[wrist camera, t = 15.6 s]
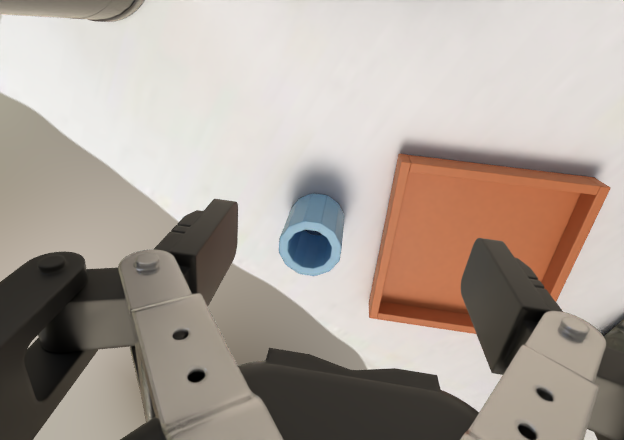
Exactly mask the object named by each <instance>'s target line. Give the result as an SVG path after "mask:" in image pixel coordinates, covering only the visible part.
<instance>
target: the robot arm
mask: <svg viewBox="0 0 624 440" xmlns="http://www.w3.org/2000/svg"><path fill="white" fill-rule="evenodd" d="M143 2H144V0H0V14H2V15H21V16H40V17H58V18H73V19H88V20H92V21H103V22H112V21H118V20H121V19H124V18H126V17H128V16H130V15H131V14H133V13H134V12H135V11H136V10H137V9H138V8H139V7H140V6H141V5H142V3H143ZM237 233H238V204H237V202H234V201H227V200H220V199H214V200H213V201H212V202H211V203H210V204H209V205H208V207H207V208H206V209H205V210H204V211H198V210H197V211H195V212H192V213H190V214H188V215H186V216H184V217H183V219H182V220H181V221H180V222H179V223H178V225H176V226H175V227H174V228H173V229H172V231H171V232H169V233H168V234H167V236H166V237H165V238H164V239H163V240H162V241H161V242H160V243H159V244H158V245H157V246H156V247H155V248H154V249H153V250H143V251H138V252H135V253H132V254H130V255H128V256H126V257H125V258H123V259H122V260H121V262H120V263H119V266H118V268H104V269H86V265H85V259H84V258H83V257H82V256H81V255H79V254H76V253H73V252H54V253H48V254H44V255H41V256H38V257H36V258H33V259H31V260H29V261H28V262H26V263H25V264H24V265H22V266H21V267H20V268H18V269H17V270H16V271H14V272H13V273H12V274H10V275H9V276H8V277H6V278H5V279H4V280H2V281H1V282H0V440H33V439H34V437H35V436H36V434H37V433H38V432H39V430H40V429H41V428H42V426H43V425H44V424H45V422H46V421H47V419H48V418H49V417H50V415H51V414H52V413H53V411H54V410H55V409H56V407H57V406H58V404H59V403H60V402H61V400H62V399H63V398H64V396H65V395H66V393H67V392H68V391H69V389H70V388H71V386H72V385H73V384H74V382H75V381H76V380H77V378H78V377H79V376H80V374H81V373H82V371H83V370H84V369H85V367H86V366H87V365H88V363H89V362H90V360H91V359H92V358H93V356H94V355H95V354H96V352H97V351H98V349H107V348H118V347H129V346H130V350H131V354H132V359H133V363H134V368H135V372H136V376H137V381H138V385H139V389H140V394H141V398H142V403H143V408H144V414H145V419H146V423H145V424H143V425H142V426H140V427H139V428H137V429H136V430H134V431H133V432H131V433H130V434H128V435H127V436H125V437H123V438H122V439H120V440H584V437H585V433H586V430H587V429H589V430H591V431H593V432H594V433H595V435H596V437H597V439H598V440H624V352H622V351H619V350H616V349H613V348H611V347H608V346H606V340H605V338H604V336H603V335H602V334H601V333H600V332H599V330H598V329H596V328H595V327H594V326H593V325H591V324H590V323H588V322H587V321H585V320H583V319H581V318H579V317H577V316H575V315H572V314H569V313H565V312H563V311H562V310H561V309H560V307H559V306H558V304H557V303H556V302H555V300H554V299H553V298H552V296H551V295H550V294H549V292H548V291H547V289H544V285H543V284H542V283H541V281H540V280H538V277H537V276H536V274H535V273H534V272H533V270H532V269H531V268H530V267H529V266H527V265H526V264H525V263H524V262H522V261H521V260H520V259H518V258H515V257H514V256H513V254H512V253H511V252H510V250H509V249H508V247H507V246H506V244H505V243H504V242H503V241H498V240H491V239H484V238H477V239H476V241H475V242H474V244H473V247H472V250H471V253H470V256H469V259H468V261H467V264H466V267H465V270H464V273H463V276H462V279H461V295H462V298H463V300H464V303H465V306H466V308H467V311H468V313H469V316H470V318H471V321H472V323H473V326H474V329H475V331H476V334H477V336H478V339H479V341H480V344H481V346H482V349H483V351H484V354H485V357H486V359H487V362H488V364H489V367H490V369H491V372H492V373H496V374H502V375H503V376H502V377H501V379H500V381H499V382H498V384H497V385H496V387H495V389H494V390H493V392H492V393H491V395H490V397H489V398H488V400H487V401H486V403H485V404H484V406H483V408H482V409H481V411H480V412H478V411H476V410H475V409H474V408H472V407H471V406H470V405H468V404H467V403H465V402H464V401H462V400H460V399H459V398H457V397H455V396H453V395H451V394H449V393H447V392H445V391H442V390H440V386H439V382H438V377H437V375H432V374H426V373H420V372H414V371H408V370H401V369H395V368H394V369H374V370H350V369H347V368H344V367H341V366H338V365H336V364H333V363H331V362H328V361H326V360H323V359H320V358H318V357H315V356H312V355H310V354H304V353H298V352H292V351H285V350H279V349H273V348H269V351H268V354H267V358H266V361H256V362H250V363H246V364H242V365H239V366H238V365H237V363H236V361H235V359H234V358H233V356H232V353H231V351H230V350H229V347H228V346H227V344H226V342H225V340H224V338H223V336H222V334H221V332H220V330H219V328H218V326H217V324H216V322H215V320H214V318H213V316H212V314H211V312H210V310H209V308H208V305H209V303H210V302H211V300H212V298H213V296H214V294H215V292H216V291H217V289H218V287H219V285H220V283H221V281H222V280H223V278H224V276H225V274H226V272H227V271H228V269H229V267H230V265H231V263H232V262H233V260H234V257H235V254H236V249H237ZM37 335H38V336H39V338H38V339H37V340H36V341H35V342H34V343H33V344H32V345H31V346H30V347H29V348H28V346H29V345H30V343H31V342H32V340H33V339H34V338H35V337H36V336H37ZM27 348H28V349H27Z"/></svg>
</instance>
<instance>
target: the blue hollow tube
mask: <svg viewBox="0 0 624 440" xmlns="http://www.w3.org/2000/svg"><path fill="white" fill-rule="evenodd" d="M343 226H344V214H343V212H342V209H341V207H340V205H339V204H338V203H337V202H336V201H335V200H333V199H332V198H330V197H329V196H328V195H322V194H314V193H313V194H309V195H307V196H304V197H302V198H300V199H298V201H297V202H296V203H295V204H294V206H293V207H292V209H291V211H290V214H289V216H288V219H287V221H286V224H285V226H284V229H283V231H282V234H281V236H280V239H279V253H280V255H281V257H282V259H283V261H284V262H285V264H286V265H287V266H288V267H290V268H291V269H293V270H294V271H296V272H297V273H300V274H304V275H311V276H317V275H320V274H323V273H326V272H329V271H330V270H331V269H332V268H333V267H334V266H335V265H336V264H337V263H338V262H339V260H340V254H341V248H342V237H343ZM305 230H312V231H318V232H319V233H321V234H322V235H313V234H309V233H308V232H306V231H305Z"/></svg>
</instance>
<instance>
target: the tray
mask: <svg viewBox="0 0 624 440" xmlns="http://www.w3.org/2000/svg"><path fill="white" fill-rule="evenodd" d="M609 190H610V187H609V186H607V185H605V184H604V183H602V182H601V181H599V180H597V179H596V178H595V177H586V176H578V175H570V174H562V173H554V172H545V171H537V170H529V169H521V168H513V167H504V166H496V165H488V164H480V163H472V162H463V161H455V160H447V159H439V158H431V157H422V156H414V155H406V154H399V155H398V160H397V165H396V170H395V175H394V180H393V185H392V190H391V195H390V200H389V205H388V210H387V215H386V220H385V225H384V230H383V235H382V240H381V245H380V250H379V255H378V260H377V265H376V270H375V275H374V280H373V285H372V290H371V295H370V300H369V318H374V319H380V320H387V321H393V322H400V323H407V324H413V325H420V326H427V327H433V328H440V329H447V330H454V331H460V332H467V333H474V334H476V331H475V329H474V326H473V323H472V321H471V318H470V316H469V313H468V311H467V308H466V306H465V303H464V300H463V298H462V295H461V279H462V276H463V273H464V270H465V267H466V264H467V261H468V259H469V256H470V253H471V250H472V247H473V244H474V242H475V241H476V239H477V238H484V239H491V240H498V241H503V242H504V243H505V244H506V246H507V247H508V249H509V250H510V252H511V253H512V254H513V256H514V257H515V258H518V259H520V260H521V261H522V262H524V263H525V264H526V265H527V266H529V267H530V268H531V269H532V270H533V272H534V273H535V274H536V276H537V277H538V280H540V281H541V283H542V284H543V285H544V289H547V291H548V292H549V294H550V295H551V296H552V298H553V299H554V300H555V302H556V301H557V299H558V297H559V294H560V292H561V290H562V288H563V286H564V284H565V282H566V280H567V278H568V276H569V274H570V272H571V269H572V267H573V265H574V263H575V261H576V259H577V257H578V255H579V253H580V251H581V249H582V246H583V244H584V242H585V240H586V238H587V236H588V234H589V232H590V230H591V228H592V226H593V224H594V221H595V219H596V217H597V215H598V213H599V211H600V209H601V207H602V205H603V203H604V201H605V198H606V196H607V194H608V192H609Z"/></svg>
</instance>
